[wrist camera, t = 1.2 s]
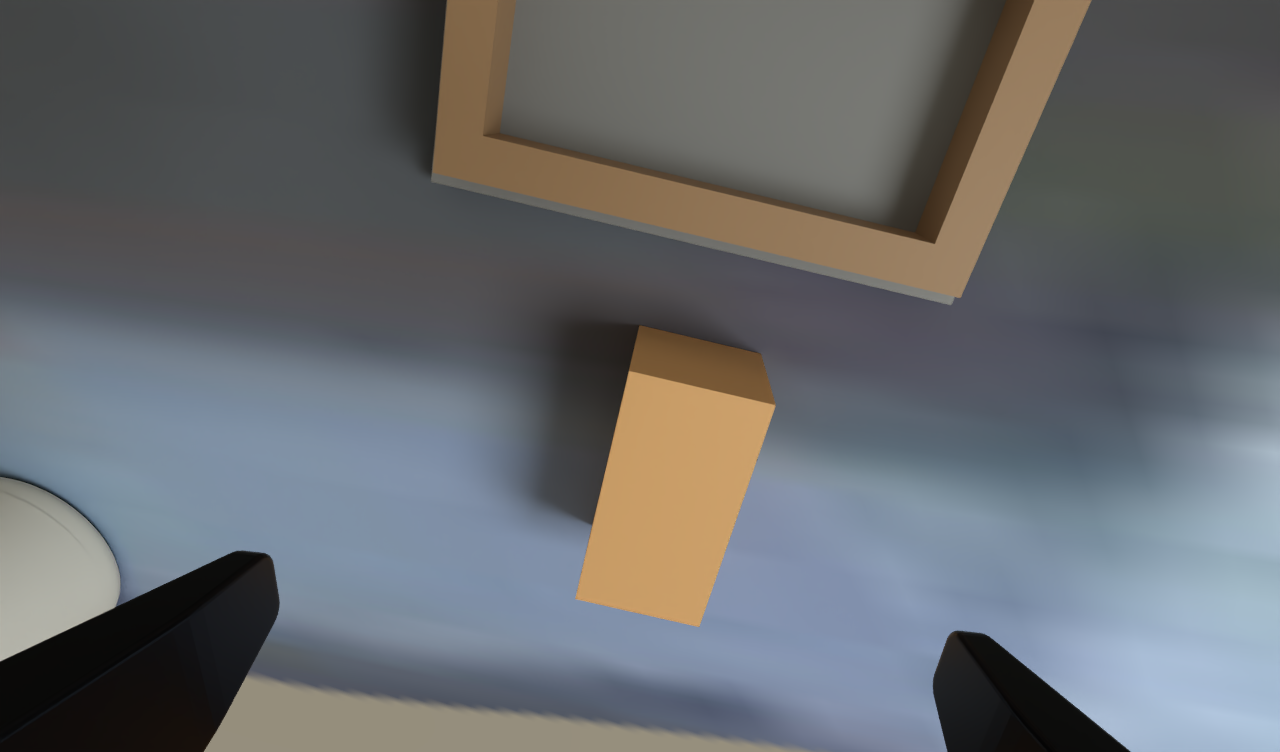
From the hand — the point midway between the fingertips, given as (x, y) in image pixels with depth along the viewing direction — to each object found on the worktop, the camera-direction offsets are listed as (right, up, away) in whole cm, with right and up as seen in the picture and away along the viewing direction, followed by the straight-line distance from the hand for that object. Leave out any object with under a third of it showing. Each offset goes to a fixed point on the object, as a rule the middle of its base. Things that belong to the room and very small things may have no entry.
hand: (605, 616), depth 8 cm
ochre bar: (+1, +1, +14) cm, 14 cm away
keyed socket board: (+3, +12, +9) cm, 15 cm away
